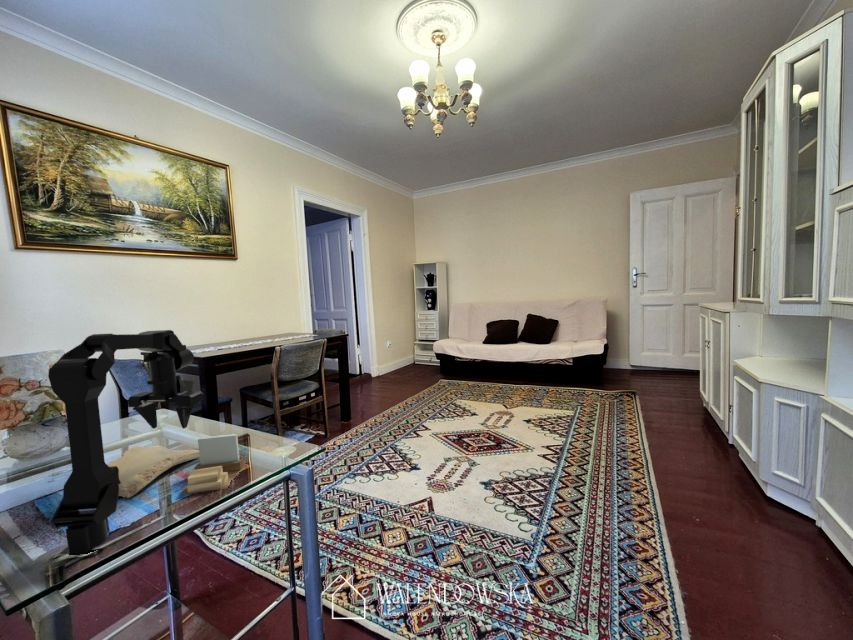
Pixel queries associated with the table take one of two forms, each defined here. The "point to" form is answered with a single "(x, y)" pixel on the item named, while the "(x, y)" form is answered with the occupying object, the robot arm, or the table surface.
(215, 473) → the offcut upper
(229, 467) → the rack
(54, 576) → the table surface
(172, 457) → the tan curved tapered piece
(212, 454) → the panel
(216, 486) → the offcut lower
